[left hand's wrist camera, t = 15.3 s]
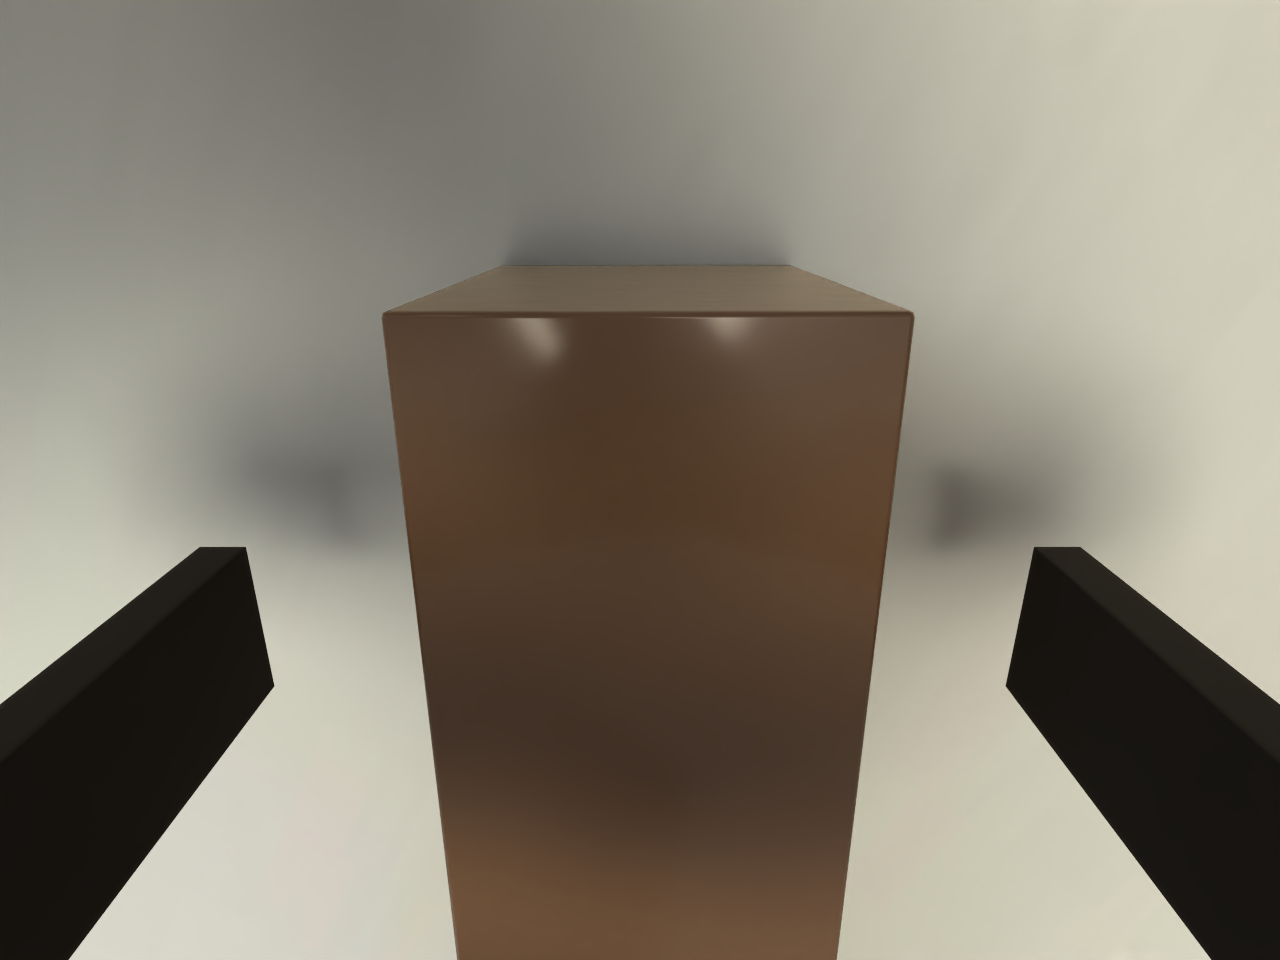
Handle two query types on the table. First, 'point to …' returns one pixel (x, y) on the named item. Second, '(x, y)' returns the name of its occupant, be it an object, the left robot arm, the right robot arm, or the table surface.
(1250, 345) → the table surface
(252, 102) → the table surface
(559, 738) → the beam
